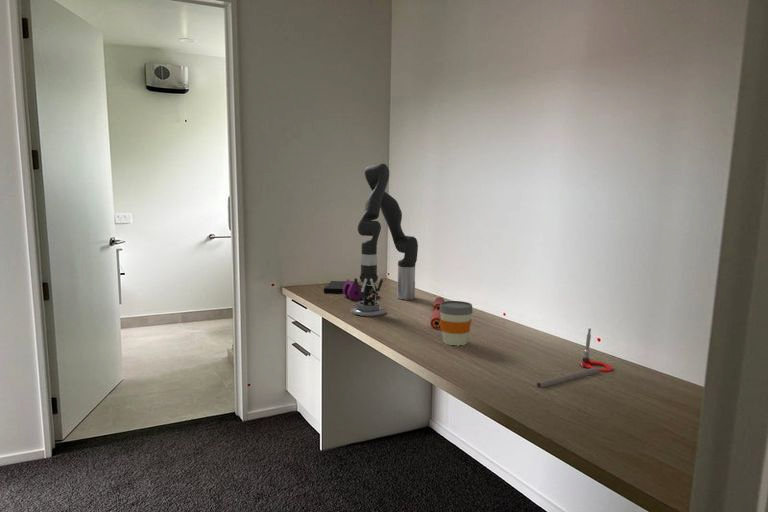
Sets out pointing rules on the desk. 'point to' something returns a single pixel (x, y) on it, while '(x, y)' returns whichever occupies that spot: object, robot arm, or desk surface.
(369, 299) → the beverage can
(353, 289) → the mounting bracket
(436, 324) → the blood vessel
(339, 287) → the external hard drive
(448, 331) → the reusable coffee cup
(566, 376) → the metal rod
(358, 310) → the rosette socket
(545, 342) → the desk surface
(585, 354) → the tow hook
